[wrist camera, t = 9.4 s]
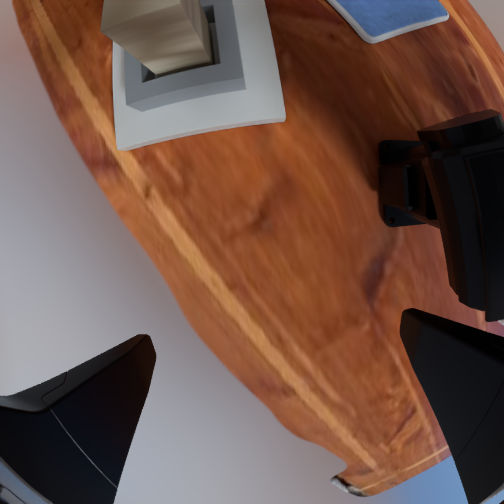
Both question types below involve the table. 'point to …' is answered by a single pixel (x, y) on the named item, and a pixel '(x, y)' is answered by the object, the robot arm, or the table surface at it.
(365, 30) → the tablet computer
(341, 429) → the table surface
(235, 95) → the socket board
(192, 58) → the peg
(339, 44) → the table surface
